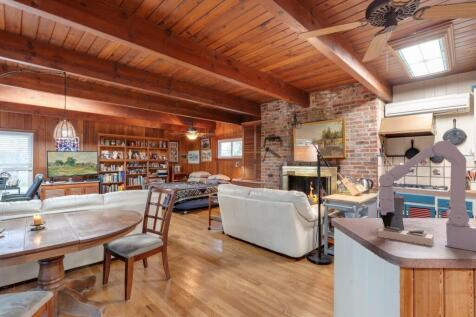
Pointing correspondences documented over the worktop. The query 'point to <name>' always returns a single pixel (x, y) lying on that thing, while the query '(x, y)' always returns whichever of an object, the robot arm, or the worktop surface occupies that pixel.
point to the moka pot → (398, 212)
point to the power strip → (406, 236)
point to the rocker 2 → (416, 231)
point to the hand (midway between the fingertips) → (387, 227)
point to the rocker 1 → (393, 228)
